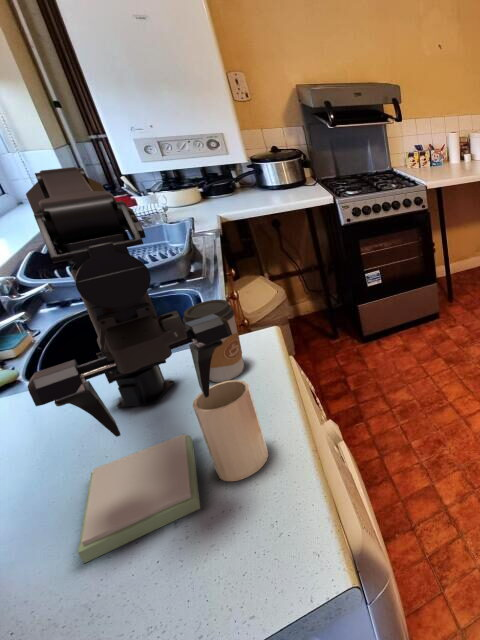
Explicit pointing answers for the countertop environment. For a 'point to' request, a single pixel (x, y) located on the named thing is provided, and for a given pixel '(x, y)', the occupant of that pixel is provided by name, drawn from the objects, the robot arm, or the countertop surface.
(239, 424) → the cream cup
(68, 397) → the robot arm
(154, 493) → the kitchen scale
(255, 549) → the countertop surface
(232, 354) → the coffee cup
